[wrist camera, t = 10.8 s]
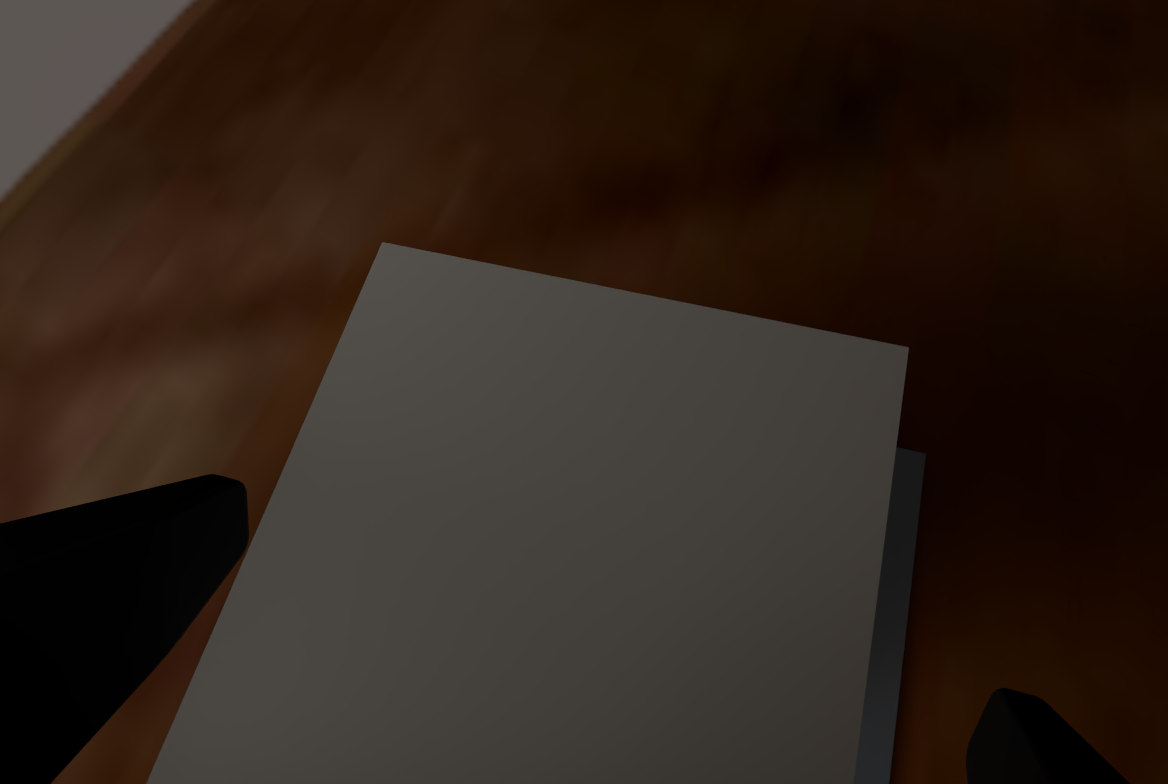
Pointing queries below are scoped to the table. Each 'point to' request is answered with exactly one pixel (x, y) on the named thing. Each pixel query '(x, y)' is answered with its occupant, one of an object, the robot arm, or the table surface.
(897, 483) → the mat
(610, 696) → the blank
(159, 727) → the table surface
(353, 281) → the table surface
